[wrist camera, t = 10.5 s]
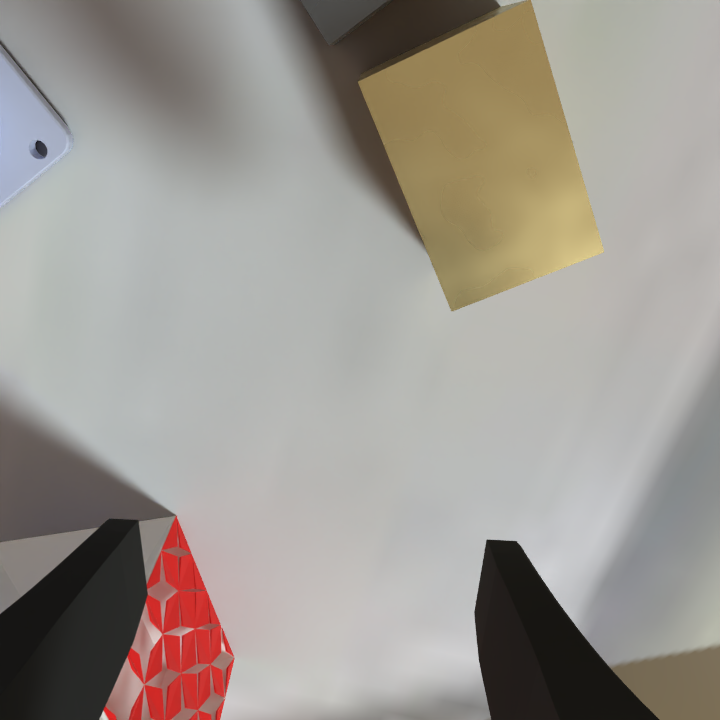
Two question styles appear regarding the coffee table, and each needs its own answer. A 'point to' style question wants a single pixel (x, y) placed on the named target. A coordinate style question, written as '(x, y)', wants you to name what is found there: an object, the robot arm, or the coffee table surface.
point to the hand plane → (341, 15)
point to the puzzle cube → (146, 624)
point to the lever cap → (484, 155)
